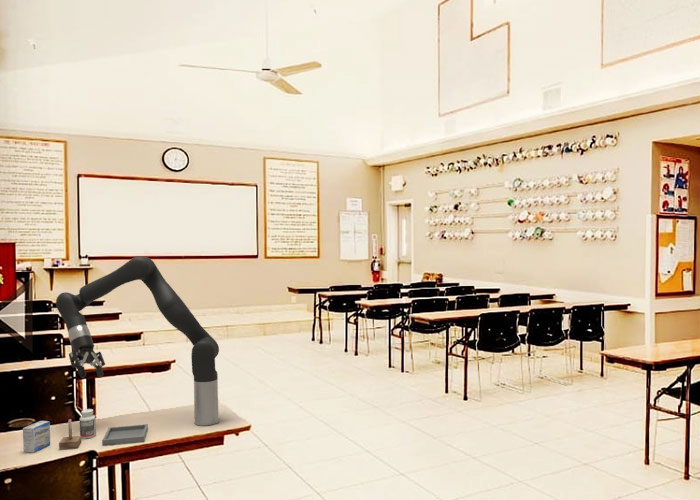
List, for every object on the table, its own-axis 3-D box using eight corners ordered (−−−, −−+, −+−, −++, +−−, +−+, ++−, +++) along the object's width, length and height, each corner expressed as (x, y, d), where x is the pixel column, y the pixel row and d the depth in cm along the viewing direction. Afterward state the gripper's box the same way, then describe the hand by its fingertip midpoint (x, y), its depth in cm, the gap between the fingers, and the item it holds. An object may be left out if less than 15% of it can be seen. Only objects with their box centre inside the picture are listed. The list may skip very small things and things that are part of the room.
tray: (147, 429, 214) (147, 424, 214) (143, 441, 201) (143, 436, 200) (108, 432, 211) (108, 427, 210) (102, 445, 197) (102, 440, 197)
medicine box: (34, 453, 191) (33, 428, 191) (22, 452, 192) (22, 427, 192) (50, 444, 199) (50, 421, 199) (39, 444, 200) (39, 420, 199)
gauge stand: (81, 442, 201) (80, 416, 201) (77, 448, 195) (77, 421, 195) (63, 444, 199) (62, 417, 199) (59, 450, 193) (58, 423, 193)
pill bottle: (83, 434, 209) (82, 408, 209) (97, 433, 210) (97, 408, 210) (77, 439, 204) (77, 413, 204) (92, 438, 204) (92, 412, 204)
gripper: (73, 333, 208) (85, 372, 202) (101, 335, 221) (113, 372, 215) (58, 343, 209) (70, 382, 203) (87, 344, 222) (99, 381, 217)
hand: (92, 376), depth 209 cm, fingers open, 8 cm apart
